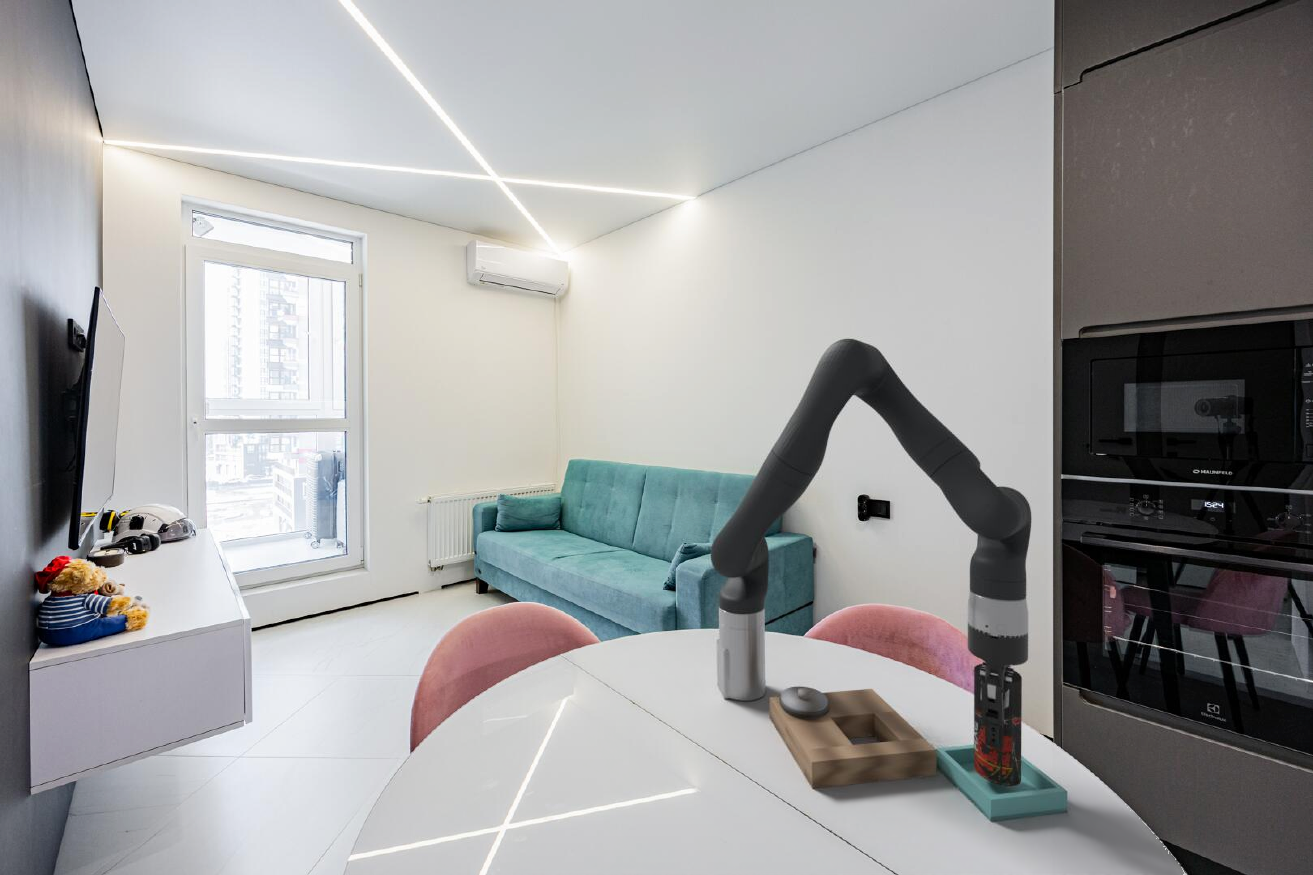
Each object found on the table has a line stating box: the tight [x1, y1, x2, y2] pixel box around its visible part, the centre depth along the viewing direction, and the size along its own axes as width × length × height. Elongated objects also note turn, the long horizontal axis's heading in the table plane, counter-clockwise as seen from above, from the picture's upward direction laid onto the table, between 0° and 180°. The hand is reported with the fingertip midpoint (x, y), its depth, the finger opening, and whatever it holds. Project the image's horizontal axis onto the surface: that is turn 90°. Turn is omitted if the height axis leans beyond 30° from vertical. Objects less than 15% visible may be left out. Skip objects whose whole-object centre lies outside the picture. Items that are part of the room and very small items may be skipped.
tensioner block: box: [769, 686, 937, 789], centre depth 91 cm, size 20×19×7 cm
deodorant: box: [973, 663, 1023, 786], centre depth 79 cm, size 6×6×15 cm
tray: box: [935, 744, 1068, 822], centre depth 79 cm, size 12×12×3 cm
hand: (996, 735), depth 79 cm, fingers closed on deodorant, 6 cm apart
